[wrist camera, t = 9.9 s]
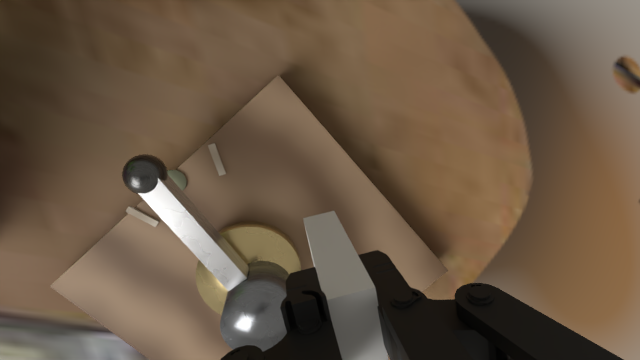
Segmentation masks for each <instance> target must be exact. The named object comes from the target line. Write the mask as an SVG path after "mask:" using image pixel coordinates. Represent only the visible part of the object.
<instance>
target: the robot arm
mask: <svg viewBox="0 0 640 360" xmlns="http://www.w3.org/2000/svg"><path fill="white" fill-rule="evenodd" d="M303 221H304V225H305V229H306V234H307V238H308V242H309V247H310V251H311V255H312V260H313V264H314V267H312V268H308V269H305V270H301V271H297V272H293V273H290V274H289V276H288V278H287V280H286V282H285V283H286V294H287V296H286V297H285V299H284V300H283V301H282V303H281V307H280V309H281V313H282V316H283V320H284V324H285V327H286V331H287V334H286V335H285V336H284V338H283V339H282V340H281V341H280V342H278V343H277V344H276V345H274V346H272V347H271V348H269V349H267V350H265V351H263V352H262V350H261V349H260V348H259V347H257V346H254V345H245V346H241V347H237V348H235V349H233V350H232V351H230V352H228V353H227V354H226V355H225V356H224V357H222V358H221V360H388V356H387V353H388V355H389V357H390V360H623V359H621V358H620V357H618V356H616V355H614V354H612V353H611V352H609V351H607V350H606V349H604V348H602V347H600V346H599V345H597V344H595V343H593V342H592V341H590V340H588V339H586V338H585V337H583V336H581V335H579V334H578V333H576V332H574V331H572V330H570V329H568V328H567V327H565V326H563V325H562V324H560V323H558V322H556V321H555V320H553V319H551V318H549V317H548V316H546V315H544V314H542V313H541V312H539V311H537V310H535V309H534V308H532V307H530V306H528V305H527V304H525V303H523V302H521V301H520V300H518V299H516V298H514V297H512V296H511V295H509V294H507V293H505V292H504V291H502V290H500V289H498V288H496V287H494V286H491V285H489V284H483V283H470V284H467V285H463V286H461V287H460V288H459V289H457V291H456V293H455V299H454V300H432V299H427V297H426V296H425V295H424V294H423V293H422V292H421V291H420V290H417V289H414V288H411V287H410V286H409V285H408V283H407V282H406V280H405V279H404V278H403V276H402V275H401V273H400V272H399V271H398V269H396V266H395V265H394V264H393V263H392V261H391V259H390V258H389V257H388V255H387V254H385V253H383V252H381V251H379V250H375V251H371V252H368V253H364V254H360V255H358V254H357V252H356V250H355V249H354V247H353V245H352V243H351V241H350V239H349V237H348V236H347V234H346V232H345V230H344V228H343V226H342V224H341V223H340V221H339V219H338V217H337V215H336V213H335V211H331V212H326V213H322V214H318V215H314V216H310V217H306V218H303Z"/></svg>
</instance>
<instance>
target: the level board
mask: <svg viewBox="0 0 640 360" xmlns="http://www.w3.org/2000/svg"><path fill="white" fill-rule="evenodd" d="M167 172H168V175H169V176H170V177H171V179H172V180H173V181H174V182H175V183H176V184H177V185H178V187H179V188H180V189H181V190H182V191H183V192H184V193H185V195H186V196H187V197H188V198H189V199H190V200H191V201H192V203H193V204H194V205H195V206H196V207H197V208H198V209H199V211H200V212H201V213H202V214H203V215H204V216H205V217H206V219H207V220H208V221H209V222H210V223H211V224H212V225H213V227H214V228H215V229H216V230H217V231H220V230H221V229H223V228H225V227H227V226H229V225H231V224H234V223H238V222H243V221H258V222H263V223H267V224H270V225H272V226H275V227H277V228H278V229H280V230H282V231H283V232H284V233H285V234H286V235H287V236H288V237H289V238H290V239H291V240H292V241H293V243H294V244H295V246H296V248H297V250H298V253H299V257H300V264H301V270H305V269H308V268H312V267H314V264H313V260H312V255H311V251H310V247H309V242H308V238H307V234H306V229H305V225H304V221H303V218H306V217H310V216H314V215H318V214H322V213H326V212H331V211H335V213H336V215H337V217H338V219H339V221H340V223H341V224H342V226H343V228H344V230H345V232H346V234H347V236H348V237H349V239H350V241H351V243H352V245H353V247H354V249H355V250H356V252H357V254H358V255H360V254H364V253H368V252H371V251H375V250H379V251H381V252H383V253H385V254H387V255H388V257H389V258H390V259H391V261H392V263H393V264H394V265H395V266H396V269H398V271H399V272H400V273H401V275H402V276H403V278H404V279H405V280H406V282H407V283H408V285H409V286H410V287H411V288H414V289H417V290H420V291H421V292H423V291H424V290H425V289H426V288H428V287H429V286H430V285H431V284H432V283H434V282H435V281H436V280H437V279H439V278H440V277H441V276H442V275H443V274H445V273H446V272H447V271H448V270H447V269H446V267H445V266H444V265H443V264H442V263H441V262H440V260H439V259H438V258H437V257H436V256H435V255H434V254H433V252H432V251H431V250H430V249H429V248H428V247H427V245H426V244H425V243H424V242H423V241H422V240H421V239H420V237H419V236H418V235H417V234H416V233H415V232H414V231H413V229H412V228H411V227H410V226H409V225H408V224H407V222H406V221H405V220H404V219H403V218H402V217H401V216H400V214H399V213H398V212H397V211H396V210H395V209H394V207H393V206H392V205H391V204H390V203H389V202H388V201H387V199H386V198H385V197H384V196H383V195H382V194H381V193H380V191H379V190H378V189H377V188H376V187H375V186H374V184H373V183H372V182H371V181H370V180H369V179H368V178H367V176H366V175H365V174H364V173H363V172H362V171H361V169H360V168H359V167H358V166H357V165H356V164H355V163H354V161H353V160H352V159H351V158H350V157H349V156H348V154H347V153H346V152H345V151H344V150H343V149H342V148H341V146H340V145H339V144H338V143H337V142H336V141H335V140H334V138H333V137H332V136H331V135H330V134H329V133H328V131H327V130H326V129H325V128H324V127H323V126H322V125H321V123H320V122H319V121H318V120H317V119H316V118H315V116H314V115H313V114H312V113H311V112H310V111H309V110H308V108H307V107H306V106H305V105H304V104H303V103H302V102H301V100H300V99H299V98H298V97H297V96H296V95H295V93H294V92H293V91H292V90H291V89H290V88H289V87H288V85H287V84H286V83H285V82H284V81H283V80H282V78H281V77H280V76H279V75H278V76H276V77H275V78H274V79H273V80H272V81H271V82H270V83H269V84H268V85H267V86H266V87H265V88H264V89H262V90H261V91H260V92H259V93H258V94H257V95H256V96H255V97H254V98H253V99H252V100H251V101H249V102H248V103H247V104H246V105H245V106H244V107H243V108H242V109H241V110H240V111H239V112H238V113H237V114H235V115H234V116H233V117H232V118H231V119H230V120H229V121H228V122H227V123H226V124H225V125H224V126H222V127H221V128H220V129H219V130H218V131H217V132H216V133H215V134H214V135H213V136H212V137H211V138H210V139H208V140H207V141H206V142H205V143H204V144H203V145H202V146H201V147H200V148H199V149H198V150H197V151H195V152H194V153H193V154H192V155H191V156H190V157H189V158H188V159H187V160H186V161H185V162H184V163H183V164H181V165H180V166H179V167H178V168H177V169H176V170H169V171H167ZM126 212H127V213H129V214H127V215H126V216H125V217H124V218H123V219H122V220H121V221H120V222H119V223H118V224H117V225H116V226H114V227H113V228H112V229H111V230H110V231H109V232H108V233H107V234H106V235H105V236H104V237H103V238H102V239H100V240H99V241H98V242H97V243H96V244H95V245H94V246H93V247H92V248H91V249H90V250H89V251H87V252H86V253H85V254H84V255H83V256H82V257H81V258H80V259H79V260H78V261H77V262H76V263H75V264H73V265H72V266H71V267H70V268H69V269H68V270H67V271H66V272H65V273H64V274H63V275H62V276H61V277H59V278H58V279H57V280H56V281H55V282H54V283H53V284H52V285H51V286H50V287H51V288H53V289H54V290H55V291H57V292H58V293H59V294H61V295H62V296H64V297H65V298H66V299H68V300H69V301H70V302H72V303H73V304H74V305H76V306H77V307H79V308H80V309H81V310H83V311H84V312H85V313H87V314H88V315H89V316H91V317H92V318H94V319H95V320H96V321H98V322H99V323H100V324H102V325H103V326H105V327H106V328H107V329H109V330H110V331H111V332H113V333H114V334H115V335H117V336H118V337H120V338H121V339H122V340H124V341H125V342H126V343H128V344H129V345H130V346H132V347H133V348H135V349H136V350H137V351H139V352H140V353H141V354H143V355H144V356H145V357H147V358H148V359H150V360H221V358H222V357H224V356H225V355H226V354H227V353H228V352H230V351H232V350H233V349H232V348H230V347H229V346H228V345H227V343H226V342H225V341H224V339H223V337H222V335H221V331H220V320H221V316H222V315H220V314H218V313H217V312H215V311H214V310H212V309H211V308H210V307H209V306H208V305H207V304H206V302H205V301H204V300H203V298H202V297H201V295H200V293H199V291H198V288H197V284H196V268H197V263H198V260H199V259H198V258H197V257H196V256H195V254H194V253H193V252H192V251H191V250H190V249H189V248H188V247H187V246H186V245H185V244H184V243H183V241H182V240H181V239H180V238H179V237H178V236H177V235H176V234H175V233H174V232H173V231H172V230H171V228H170V227H169V226H168V225H167V224H166V223H165V222H164V221H163V220H162V219H161V218H160V217H159V215H158V214H157V213H156V212H155V211H154V210H153V209H152V208H151V207H150V206H149V205H148V203H147V202H146V201H145V200H143V201H141V202H140V203H139V204H138V205H137V206H136V207H135V208H134V207H132V206H129V207H128V208H127V210H126Z"/></svg>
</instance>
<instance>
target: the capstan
mask: <svg viewBox="0 0 640 360" xmlns="http://www.w3.org/2000/svg"><path fill="white" fill-rule="evenodd" d="M122 177H123V181H124V183H125V185H126V186H127V188H128V189H130V190H131V191H132V192H134V193H136V194H139V195H140V196H141V197H142V198H143V199H144V200H145V201H146V202H147V203H148V205H149V206H150V207H151V208H152V209H153V210H154V211H155V212H156V213H157V214H158V215H159V217H160V218H161V219H162V220H163V221H164V222H165V223H166V224H167V225H168V226H169V227H170V228H171V230H172V231H173V232H174V233H175V234H176V235H177V236H178V237H179V238H180V239H181V240H182V241H183V243H184V244H185V245H186V246H187V247H188V248H189V249H190V250H191V251H192V252H193V253H194V254H195V256H196V257H197V258H198V259H199V260H198V263H197V268H196V284H197V288H198V291H199V293H200V295H201V297H202V298H203V300H204V301H205V302H206V304H207V305H208V306H209V307H210V308H211V309H212V310H214V311H215V312H217V313H218V314H220V315H222V316H221V320H220V331H221V335H222V337H223V339H224V341H225V342H226V343H227V345H228V346H229V347H230V348H232V349H235V348H237V347H241V346H245V345H254V346H257V347H259V348H260V349H261V350H262V352H263V351H265V350H267V349H269V348H271V347H272V346H274V345H276V344H277V343H278V342H280V341H281V340H282V339H283V338H284V336H285V335H286V334H287V331H286V327H285V324H284V320H283V316H282V313H281V309H280V307H281V303H282V301H283V300H284V299H285V297H286V296H287V294H286V283H285V282H286V280H287V278H288V276H289V274H290V273H293V272H297V271H301V264H300V257H299V253H298V250H297V248H296V246H295V244H294V243H293V241H292V240H291V239H290V238H289V237H288V236H287V235H286V234H285V233H284V232H283V231H282V230H280V229H278V228H277V227H275V226H272V225H270V224H267V223H263V222H258V221H243V222H238V223H234V224H231V225H229V226H227V227H225V228H223V229H221V230H220V231H217V230H216V229H215V228H214V227H213V225H212V224H211V223H210V222H209V221H208V220H207V219H206V217H205V216H204V215H203V214H202V213H201V212H200V211H199V209H198V208H197V207H196V206H195V205H194V204H193V203H192V201H191V200H190V199H189V198H188V197H187V196H186V195H185V193H184V192H183V191H182V190H181V189H180V188H179V187H178V185H177V184H176V183H175V182H174V181H173V180H172V179H171V177H170V176H169V175H168V172H167V168H166V166H165V164H164V163H163V162H162V161H161V160H160V159H159V158H157V157H155V156H152V155H146V154H143V155H138V156H135V157H133V158H131V159H130V160H129V161H128V162H127V163H126V164H125V166H124V168H123V172H122Z"/></svg>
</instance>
